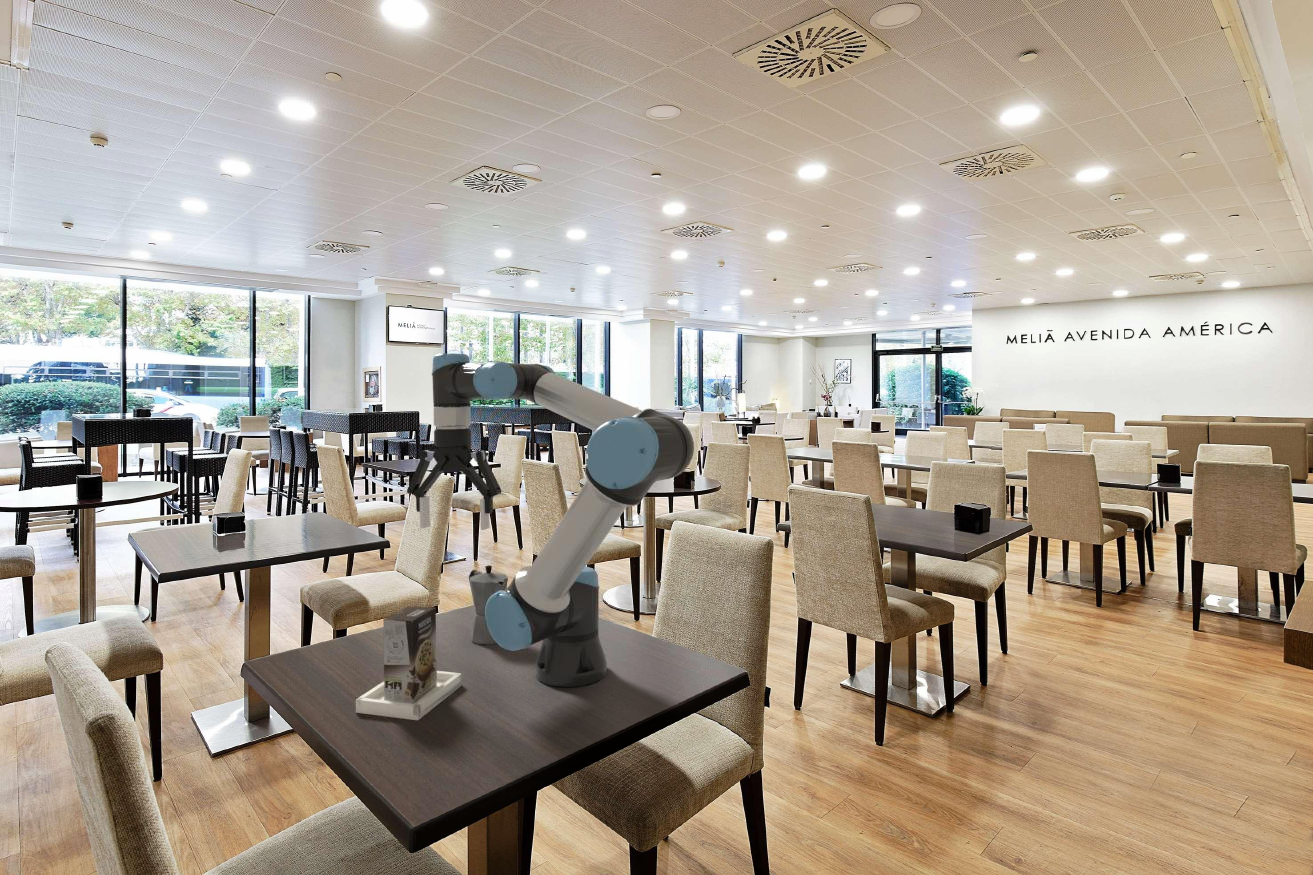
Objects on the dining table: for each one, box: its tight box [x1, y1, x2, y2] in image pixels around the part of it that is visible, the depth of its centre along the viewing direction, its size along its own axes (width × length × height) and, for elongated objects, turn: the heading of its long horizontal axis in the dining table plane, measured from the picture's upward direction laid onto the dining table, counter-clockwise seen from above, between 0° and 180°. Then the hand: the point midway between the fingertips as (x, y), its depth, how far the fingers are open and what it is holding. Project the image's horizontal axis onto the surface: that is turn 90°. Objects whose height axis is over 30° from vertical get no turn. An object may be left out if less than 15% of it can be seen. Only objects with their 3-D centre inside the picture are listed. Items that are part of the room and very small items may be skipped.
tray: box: [355, 670, 463, 721], centre depth 138 cm, size 13×16×2 cm
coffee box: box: [382, 605, 438, 704], centre depth 138 cm, size 9×6×16 cm
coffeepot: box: [468, 565, 509, 645], centre depth 173 cm, size 15×9×18 cm, turn 44°
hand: (454, 528), depth 149 cm, fingers open, 13 cm apart
